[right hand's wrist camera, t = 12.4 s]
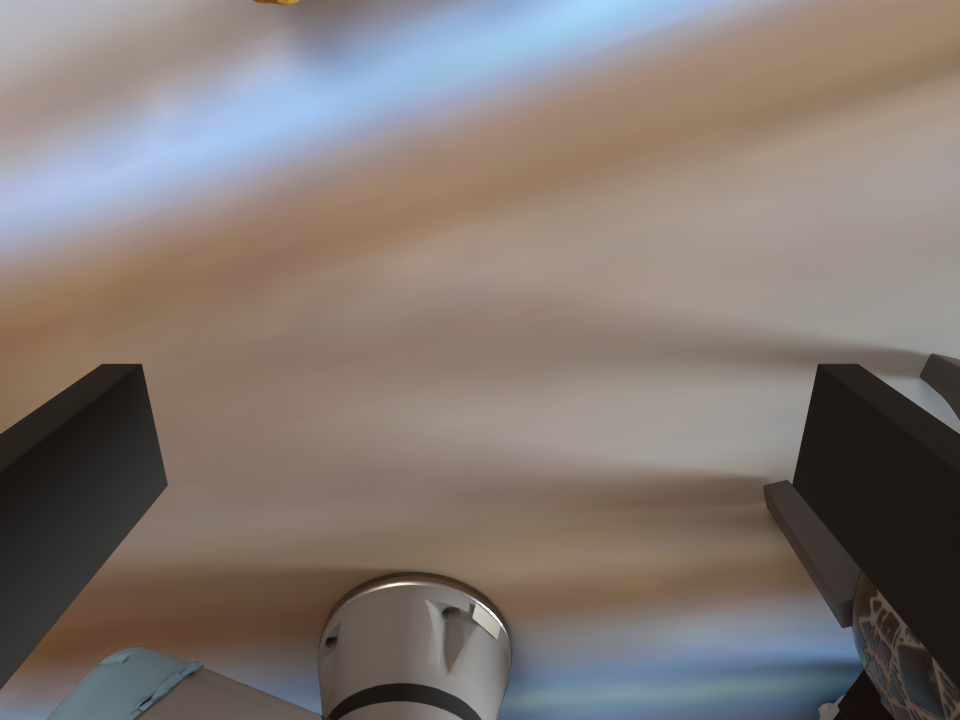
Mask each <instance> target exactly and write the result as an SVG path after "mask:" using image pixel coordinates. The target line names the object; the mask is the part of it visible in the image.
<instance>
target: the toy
mask: <svg viewBox="0 0 960 720" xmlns="http://www.w3.org/2000/svg"><path fill="white" fill-rule="evenodd" d="M254 1H256V2H258V3H274V4H280V5H290V4H293V3H296V2H298V1H299V0H254Z"/></svg>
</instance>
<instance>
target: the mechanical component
mask: <svg viewBox="0 0 960 720" xmlns="http://www.w3.org/2000/svg"><path fill="white" fill-rule="evenodd" d="M818 711H819V715H820V717H821V718H820V719H819V720H895V718H894V717H893V715H892V714H891V712H890V710H889V709H888V707H887V705H886V704H885V702H884V700H883V699H882V697H881V696H880V694H879V692H878V691H877V689H876V687H875V686H874V684H873V682H872V681H871V679H870V678H869V676H868V674H867V673H866V671H865V669H864V671H863V672H862V673H861V675H860V676H859V677H858V679H857V680H856V681H855V683H854V684H853V685H852V687H851V688H850V689H849V691H848V692H847V693H846V694H844V695H843V696H841V697H840V698H839V699H838V700H837V701H836V702H835V703H825V704H823V705H821V706H820V707H819V708H818Z"/></svg>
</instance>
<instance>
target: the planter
mask: <svg viewBox="0 0 960 720" xmlns="http://www.w3.org/2000/svg"><path fill="white" fill-rule="evenodd" d="M920 377H921V378H922V379H923V380H924V381H925V382H927V383H928V384H929V385H930V386H931V387H932V388H933V389H934V390H936V391H937V392H938V393H939V394H940V395H941V396H942V397H943V398H944V399H945V400H946V401H947V402H948V404H949V405H950V406H951V408H952V409H953V411H954V412H955V414H956V415H957V417H958V418H959V420H960V360H959V359H955V358H951V357H946V356H941V355H937V354H931V355H930V357H929V359H928V361H927V363H926V365H925V367H924V369H923V371H922V373H921V375H920ZM764 492H765V497H766V503H767V508H768V509H769V511H770V513H771V514H772V516H773V517H774V519H775V521H776V522H777V524H778V525H779V527H780V529H781V530H782V532H783V534H784V535H785V537H786V538H787V540H788V542H789V543H790V545H791V546H792V548H793V550H794V551H795V553H796V554H797V556H798V558H799V559H800V561H801V563H802V564H803V566H804V567H805V569H806V571H807V572H808V574H809V575H810V577H811V579H812V580H813V582H814V583H815V585H816V587H817V588H818V590H819V591H820V593H821V595H822V596H823V598H824V600H825V601H826V603H827V604H828V606H829V608H830V609H831V611H832V612H833V614H834V616H835V617H836V619H837V621H838V622H839V624H840V625H841V627H842V628H845V627H850V626H852V630H853V636H854V642H855V646H856V650H857V652H858V654H859V657H860V659H861V662H862V664H863V667H864V669H865V671H866V673H867V674H868V676H869V678H870V679H871V681H872V682H873V684H874V686H875V687H876V689H877V691H878V692H879V694H880V696H881V697H882V699H883V700H884V702H885V704H886V705H887V707H888V709H889V710H890V712H891V714H892V715H893V717H894V718H895V720H960V690H959V689H958V687H957V686H956V685H955V684H954V683H953V681H952V680H951V679H950V678H949V676H948V675H947V674H946V673H945V672H944V670H943V669H942V668H941V667H940V665H939V664H938V663H937V662H936V661H935V659H934V658H933V657H932V656H931V654H930V653H929V652H928V651H927V650H926V648H925V647H924V646H923V645H922V643H921V642H920V641H919V640H918V639H917V637H916V636H915V635H914V634H913V632H912V631H911V630H910V629H909V628H908V626H907V625H906V624H905V623H904V621H903V620H902V619H901V618H900V617H899V615H898V614H897V613H896V612H895V610H894V609H893V608H892V607H891V606H890V604H889V603H888V602H887V601H886V599H885V598H884V597H883V596H882V595H881V593H880V592H879V591H878V590H877V588H876V587H875V586H874V585H873V583H872V582H871V581H870V580H869V579H868V577H867V576H866V575H865V574H864V572H863V571H862V570H861V569H860V568H859V566H858V565H857V564H856V563H855V561H854V560H853V559H852V558H851V557H850V555H849V554H848V553H847V552H846V550H845V549H844V548H843V547H842V546H841V544H840V543H839V542H838V541H837V539H836V538H835V537H834V536H833V535H832V533H831V532H830V531H829V530H828V528H827V527H826V526H825V525H824V524H823V522H822V521H821V520H820V519H819V517H818V516H817V515H816V514H815V513H814V511H813V510H812V509H811V508H810V506H809V505H808V504H807V503H806V502H805V500H804V499H803V498H802V497H801V495H800V494H799V493H798V492H797V491H796V489H795V488H794V487H793V486H792V484H791V483H790V482H789V481H788V480H785V481H781V482H777V483H773V484H769V485H765V486H764Z"/></svg>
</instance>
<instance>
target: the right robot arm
mask: <svg viewBox="0 0 960 720" xmlns="http://www.w3.org/2000/svg"><path fill="white" fill-rule="evenodd" d="M167 486H168V484H167V479H166V475H165V470H164V465H163V461H162V456H161V451H160V447H159V442H158V437H157V433H156V428H155V423H154V419H153V414H152V409H151V405H150V400H149V395H148V391H147V386H146V381H145V377H144V372H143V367H142V364H101V365H100V366H99V367H97V368H96V369H94V370H93V371H91V372H90V373H88V374H87V375H86V376H84V377H83V378H81V379H80V380H78V381H77V382H75V383H74V384H72V385H71V386H70V387H68V388H67V389H65V390H64V391H62V392H61V393H59V394H58V395H57V396H55V397H54V398H52V399H51V400H49V401H48V402H46V403H45V404H43V405H42V406H41V407H39V408H38V409H36V410H35V411H33V412H32V413H30V414H29V415H28V416H26V417H25V418H23V419H22V420H20V421H19V422H17V423H16V424H14V425H13V426H12V427H10V428H9V429H7V430H6V431H4V432H3V433H1V434H0V690H1V689H2V687H3V686H4V685H5V684H6V683H7V681H8V680H9V679H10V678H11V676H12V675H13V674H14V673H15V672H16V670H17V669H18V668H19V667H20V665H21V664H22V663H23V662H24V661H25V659H26V658H27V657H28V656H29V654H30V653H31V652H32V651H33V650H34V648H35V647H36V646H37V645H38V643H39V642H40V641H41V640H42V639H43V637H44V636H45V635H46V634H47V632H48V631H49V630H50V629H51V628H52V626H53V625H54V624H55V623H56V621H57V620H58V619H59V618H60V617H61V615H62V614H63V613H64V612H65V610H66V609H67V608H68V607H69V606H70V604H71V603H72V602H73V601H74V599H75V598H76V597H77V596H78V595H79V593H80V592H81V591H82V590H83V588H84V587H85V586H86V585H87V583H88V582H89V581H90V580H91V579H92V577H93V576H94V575H95V574H96V572H97V571H98V570H99V569H100V568H101V566H102V565H103V564H104V563H105V561H106V560H107V559H108V558H109V557H110V555H111V554H112V553H113V552H114V550H115V549H116V548H117V547H118V546H119V544H120V543H121V542H122V541H123V539H124V538H125V537H126V536H127V535H128V533H129V532H130V531H131V530H132V528H133V527H134V526H135V525H136V524H137V522H138V521H139V520H140V519H141V517H142V516H143V515H144V514H145V513H146V511H147V510H148V509H149V508H150V506H151V505H152V504H153V503H154V502H155V500H156V499H157V498H158V497H159V495H160V494H161V493H162V492H163V491H164V489H165V488H166V487H167ZM792 486H793V487H794V488H795V489H796V491H797V492H798V493H799V494H800V495H801V497H802V498H803V499H804V500H805V502H806V503H807V504H808V505H809V506H810V508H811V509H812V510H813V511H814V513H815V514H816V515H817V516H818V517H819V519H820V520H821V521H822V522H823V524H824V525H825V526H826V527H827V528H828V530H829V531H830V532H831V533H832V535H833V536H834V537H835V538H836V539H837V541H838V542H839V543H840V544H841V546H842V547H843V548H844V549H845V550H846V552H847V553H848V554H849V555H850V557H851V558H852V559H853V560H854V561H855V563H856V564H857V565H858V566H859V568H860V569H861V570H862V571H863V572H864V574H865V575H866V576H867V577H868V579H869V580H870V581H871V582H872V583H873V585H874V586H875V587H876V588H877V590H878V591H879V592H880V593H881V595H882V596H883V597H884V598H885V599H886V601H887V602H888V603H889V604H890V606H891V607H892V608H893V609H894V610H895V612H896V613H897V614H898V615H899V617H900V618H901V619H902V620H903V621H904V623H905V624H906V625H907V626H908V628H909V629H910V630H911V631H912V632H913V634H914V635H915V636H916V637H917V639H918V640H919V641H920V642H921V643H922V645H923V646H924V647H925V648H926V650H927V651H928V652H929V653H930V654H931V656H932V657H933V658H934V659H935V661H936V662H937V663H938V664H939V665H940V667H941V668H942V669H943V670H944V672H945V673H946V674H947V675H948V676H949V678H950V679H951V680H952V681H953V683H954V684H955V685H956V686H957V687H958V689H959V690H960V434H959V433H957V432H956V431H954V430H953V429H951V428H950V427H948V426H947V425H946V424H944V423H943V422H941V421H940V420H938V419H937V418H935V417H934V416H932V415H931V414H930V413H928V412H927V411H925V410H924V409H922V408H921V407H919V406H918V405H917V404H915V403H914V402H912V401H911V400H909V399H908V398H906V397H905V396H903V395H902V394H901V393H899V392H898V391H896V390H895V389H893V388H892V387H890V386H889V385H888V384H886V383H885V382H883V381H882V380H880V379H879V378H877V377H876V376H874V375H873V374H872V373H870V372H869V371H867V370H866V369H864V368H863V367H861V366H860V365H859V364H818V367H817V372H816V377H815V381H814V386H813V391H812V395H811V400H810V405H809V409H808V414H807V419H806V423H805V428H804V433H803V437H802V442H801V447H800V451H799V456H798V461H797V465H796V470H795V475H794V479H793V484H792ZM511 665H512V653H511V639H510V634H509V630H508V627H507V624H506V622H505V620H504V618H503V617H502V615H501V613H500V612H499V611H498V609H497V608H496V607H495V605H494V604H493V603H492V602H491V601H490V600H489V599H487V598H486V597H485V596H484V595H483V594H481V593H480V592H478V591H477V590H475V589H474V588H472V587H470V586H468V585H467V584H464V583H462V582H460V581H458V580H455V579H452V578H449V577H445V576H441V575H437V574H431V573H422V572H406V573H396V574H390V575H385V576H381V577H378V578H375V579H372V580H370V581H367V582H365V583H363V584H361V585H359V586H357V587H356V588H354V589H353V590H351V591H350V592H349V593H347V594H346V595H345V596H344V597H343V598H342V599H341V600H340V601H339V602H338V603H337V604H336V605H335V607H334V608H333V609H332V611H331V612H330V614H329V616H328V618H327V620H326V623H325V626H324V630H323V633H322V636H321V640H320V644H319V653H318V673H319V683H320V693H321V704H322V714H323V716H321V715H319V714H317V713H314V712H312V711H309V710H307V709H304V708H302V707H299V706H297V705H294V704H292V703H289V702H287V701H284V700H282V699H279V698H277V697H275V696H272V695H270V694H267V693H265V692H262V691H260V690H257V689H255V688H252V687H250V686H247V685H245V684H242V683H240V682H237V681H235V680H232V679H230V678H228V677H225V676H223V675H220V674H218V673H215V672H213V671H210V670H208V669H205V668H204V666H205V665H204V664H203V663H201V662H199V661H195V662H192V663H190V662H187V661H184V660H181V659H178V658H175V657H172V656H169V655H166V654H163V653H160V652H157V651H154V650H151V649H148V648H144V647H130V648H126V649H123V650H120V651H118V652H116V653H113V654H112V655H110V656H109V657H107V658H105V659H104V660H103V661H101V662H100V663H99V664H98V665H97V666H96V667H95V668H93V669H92V670H91V671H90V672H89V673H88V674H87V675H86V676H85V677H84V678H83V679H82V680H81V681H80V683H79V684H78V685H77V686H76V687H75V688H74V689H73V690H72V691H71V692H70V693H69V694H68V695H67V697H66V698H65V699H64V700H63V701H62V702H61V704H60V705H59V706H58V707H57V708H56V709H55V711H54V712H53V713H52V714H51V715H50V716H49V717H48V719H47V720H496V719H497V716H498V713H499V710H500V707H501V704H502V701H503V698H504V695H505V692H506V689H507V686H508V683H509V679H510V672H511Z"/></svg>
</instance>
